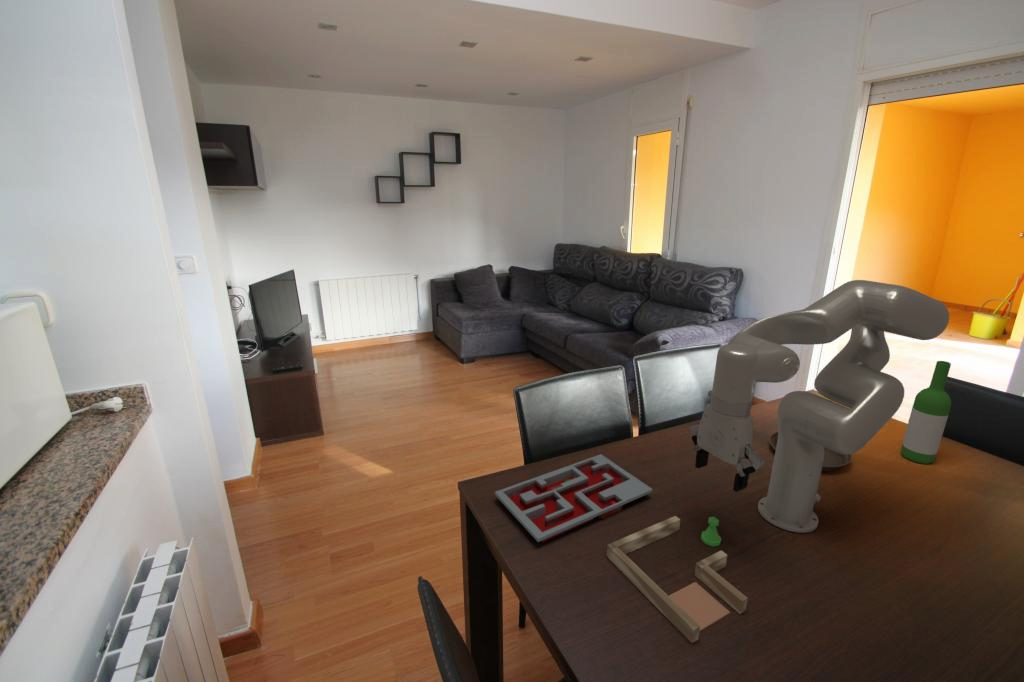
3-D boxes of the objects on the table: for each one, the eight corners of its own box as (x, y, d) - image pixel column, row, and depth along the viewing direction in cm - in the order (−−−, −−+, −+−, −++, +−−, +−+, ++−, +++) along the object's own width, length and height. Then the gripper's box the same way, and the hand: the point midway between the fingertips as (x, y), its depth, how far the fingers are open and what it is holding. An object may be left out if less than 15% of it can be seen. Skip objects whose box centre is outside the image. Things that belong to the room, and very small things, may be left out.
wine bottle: (931, 455, 137) (959, 360, 128) (936, 468, 131) (966, 369, 122) (897, 448, 141) (923, 356, 132) (901, 460, 135) (928, 363, 126)
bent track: (674, 526, 108) (675, 515, 107) (765, 598, 88) (768, 585, 87) (606, 556, 99) (607, 544, 98) (692, 643, 79) (693, 630, 78)
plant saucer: (807, 480, 126) (809, 470, 125) (752, 443, 145) (754, 434, 144) (867, 470, 130) (870, 460, 129) (806, 435, 149) (808, 426, 148)
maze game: (537, 551, 101) (537, 539, 100) (494, 502, 117) (494, 491, 116) (651, 499, 118) (652, 489, 117) (600, 463, 134) (600, 454, 133)
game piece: (725, 541, 103) (728, 518, 101) (714, 549, 101) (717, 526, 99) (707, 530, 106) (710, 508, 105) (696, 538, 104) (699, 515, 102)
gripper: (684, 392, 99) (675, 462, 104) (757, 426, 85) (743, 505, 90) (708, 386, 103) (699, 454, 108) (782, 417, 88) (768, 494, 93)
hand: (719, 477), depth 99 cm, fingers open, 9 cm apart
